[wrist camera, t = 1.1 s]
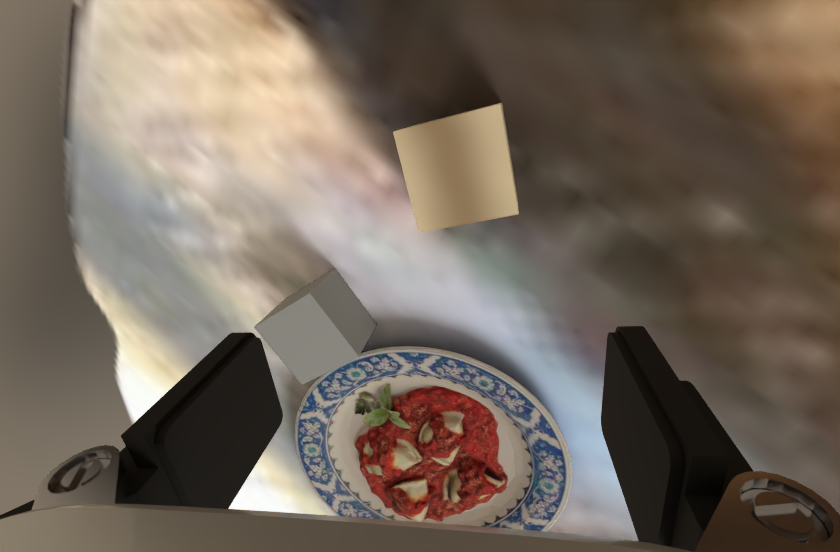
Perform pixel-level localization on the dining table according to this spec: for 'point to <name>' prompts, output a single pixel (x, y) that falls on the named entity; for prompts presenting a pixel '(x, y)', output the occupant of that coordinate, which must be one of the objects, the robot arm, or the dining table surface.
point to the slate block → (318, 327)
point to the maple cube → (458, 169)
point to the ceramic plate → (432, 442)
